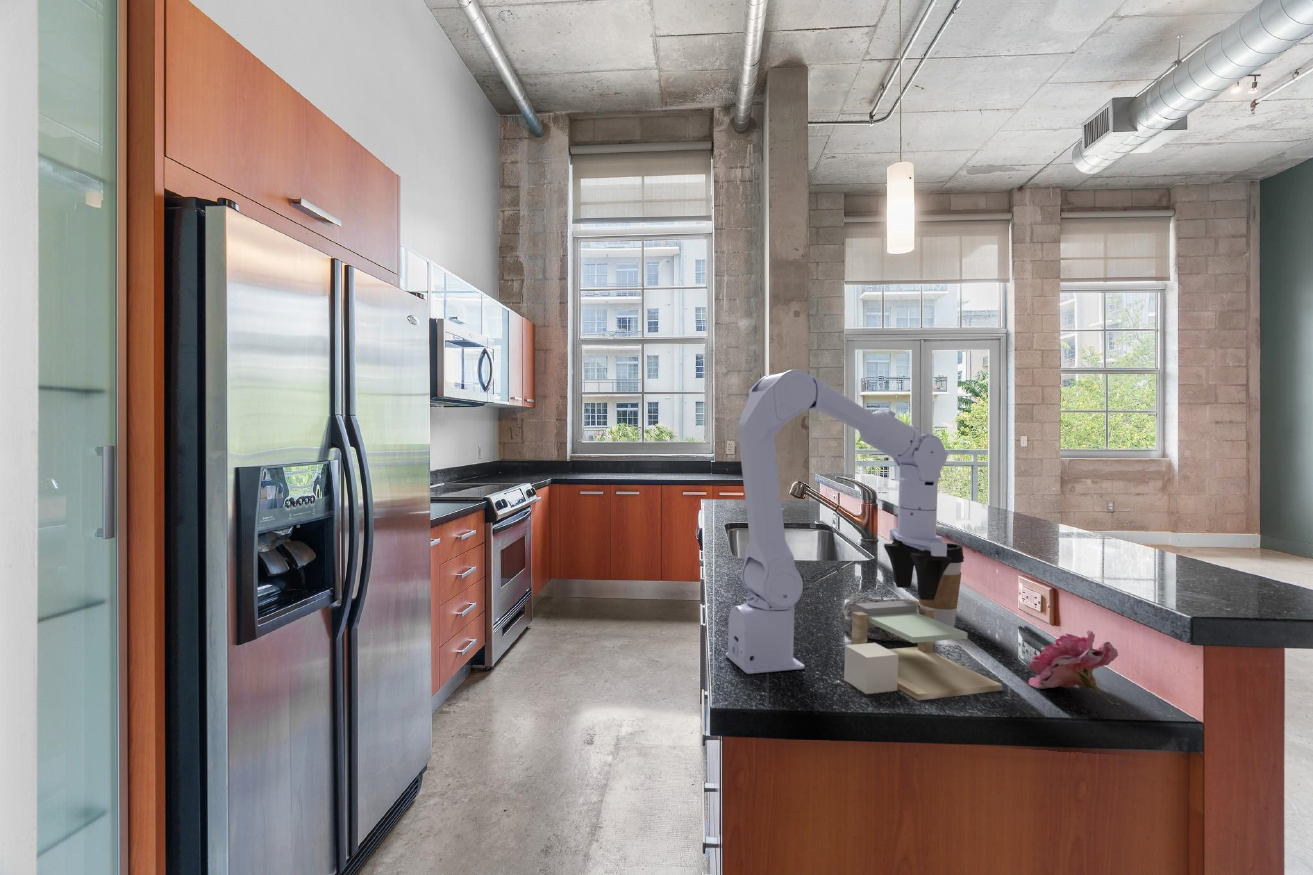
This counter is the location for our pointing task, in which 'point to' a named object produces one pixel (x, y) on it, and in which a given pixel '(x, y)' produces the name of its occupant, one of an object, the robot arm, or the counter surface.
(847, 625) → the rock
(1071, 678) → the flower
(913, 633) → the trapdoor
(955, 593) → the coffee cup
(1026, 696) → the counter surface
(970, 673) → the stand
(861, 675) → the cream cube
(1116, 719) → the counter surface
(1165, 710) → the counter surface
